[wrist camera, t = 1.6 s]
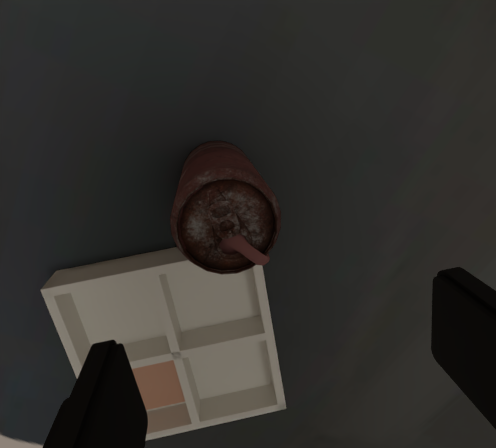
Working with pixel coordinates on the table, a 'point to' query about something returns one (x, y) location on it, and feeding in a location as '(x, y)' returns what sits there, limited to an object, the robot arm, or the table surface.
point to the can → (224, 211)
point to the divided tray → (175, 335)
